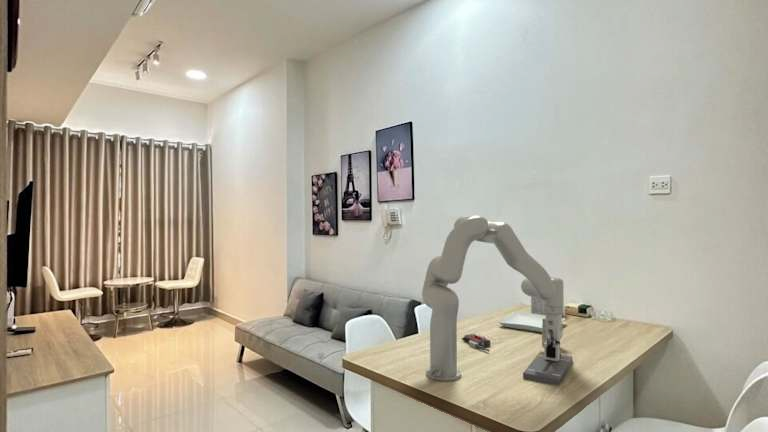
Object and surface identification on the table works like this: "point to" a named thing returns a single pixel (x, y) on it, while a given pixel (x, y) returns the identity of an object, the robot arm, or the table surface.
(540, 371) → the slider console
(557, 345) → the fader knob
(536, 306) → the supplement box
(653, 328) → the table surface
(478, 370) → the table surface
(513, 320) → the square plate
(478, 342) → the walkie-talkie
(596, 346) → the table surface
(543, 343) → the skincare box
